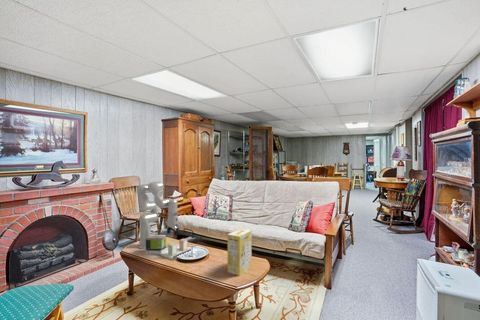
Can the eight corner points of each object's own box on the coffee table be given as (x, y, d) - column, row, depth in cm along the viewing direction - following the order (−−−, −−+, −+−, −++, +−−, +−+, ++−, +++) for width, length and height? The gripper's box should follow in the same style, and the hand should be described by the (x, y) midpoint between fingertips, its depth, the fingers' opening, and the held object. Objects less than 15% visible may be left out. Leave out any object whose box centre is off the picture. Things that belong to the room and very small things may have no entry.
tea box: (166, 250, 212) (166, 234, 212) (161, 255, 202) (161, 238, 202) (150, 250, 213) (151, 234, 213) (145, 254, 203) (145, 237, 203)
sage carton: (168, 254, 197) (168, 244, 197) (172, 253, 201) (172, 242, 201) (172, 256, 194) (172, 245, 194) (176, 254, 198) (176, 243, 199)
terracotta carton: (179, 250, 208) (179, 240, 209) (183, 248, 213) (183, 238, 213) (183, 251, 206) (183, 241, 206) (187, 249, 210) (187, 239, 210)
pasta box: (240, 263, 186) (240, 228, 187) (251, 266, 181) (251, 230, 181) (227, 272, 171) (227, 234, 171) (239, 275, 165) (239, 236, 166)
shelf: (160, 255, 201) (160, 250, 201) (178, 248, 217) (178, 243, 217) (173, 260, 191) (173, 254, 191) (191, 252, 208) (191, 247, 208)
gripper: (183, 214, 196) (182, 235, 196) (169, 212, 206) (169, 231, 206) (175, 216, 190) (175, 237, 190) (162, 213, 200) (162, 233, 200)
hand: (172, 234), depth 198 cm, fingers open, 9 cm apart
